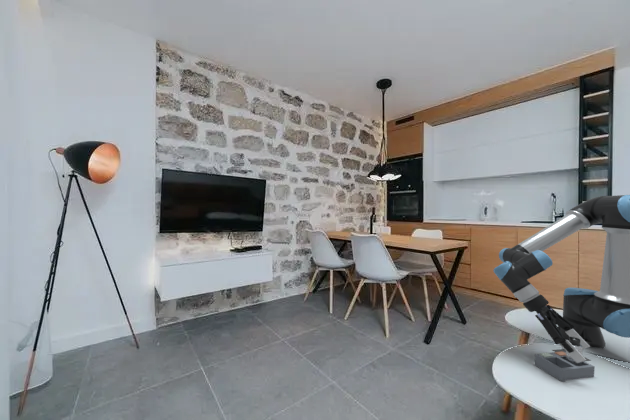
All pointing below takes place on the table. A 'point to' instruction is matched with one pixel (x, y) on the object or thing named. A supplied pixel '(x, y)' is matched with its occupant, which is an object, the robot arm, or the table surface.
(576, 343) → the plug
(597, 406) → the table surface
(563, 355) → the socket block
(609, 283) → the robot arm
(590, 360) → the plug mat
